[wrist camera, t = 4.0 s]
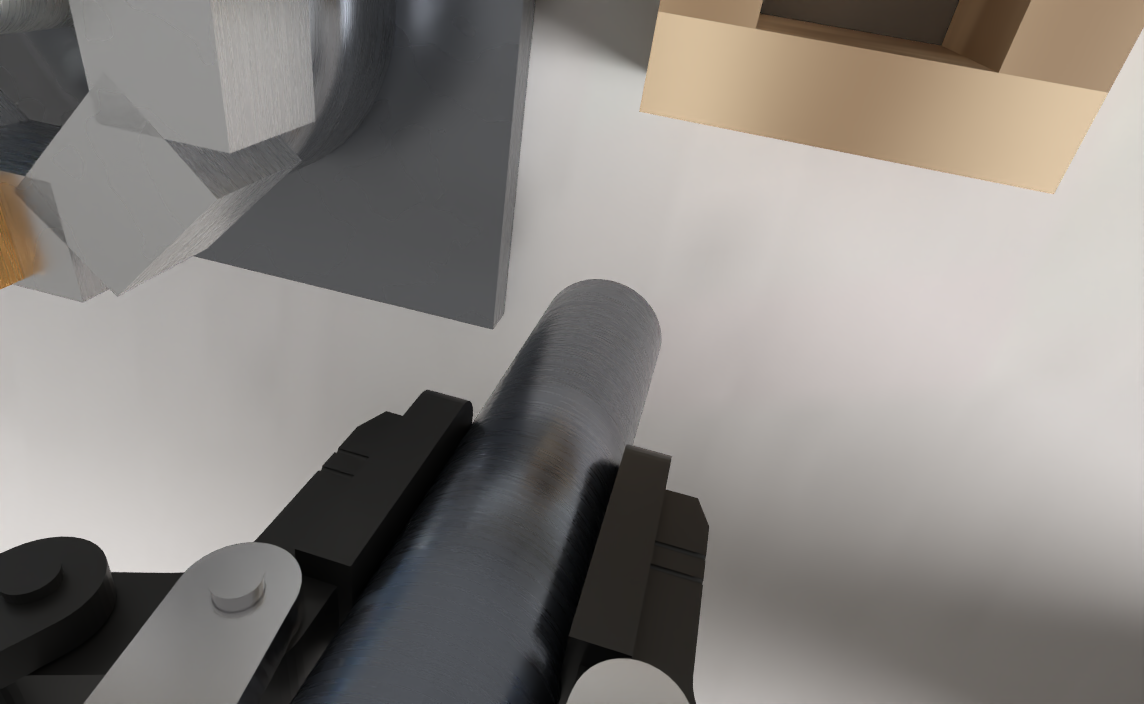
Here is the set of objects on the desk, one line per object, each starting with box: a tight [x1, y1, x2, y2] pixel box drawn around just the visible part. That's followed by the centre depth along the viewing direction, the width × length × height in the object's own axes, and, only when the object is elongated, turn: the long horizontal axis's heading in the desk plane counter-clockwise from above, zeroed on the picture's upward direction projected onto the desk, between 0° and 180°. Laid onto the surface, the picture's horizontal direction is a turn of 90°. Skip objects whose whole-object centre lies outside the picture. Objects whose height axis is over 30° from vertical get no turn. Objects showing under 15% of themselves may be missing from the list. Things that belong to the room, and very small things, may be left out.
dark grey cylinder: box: [290, 279, 661, 704], centre depth 10 cm, size 3×3×12 cm
